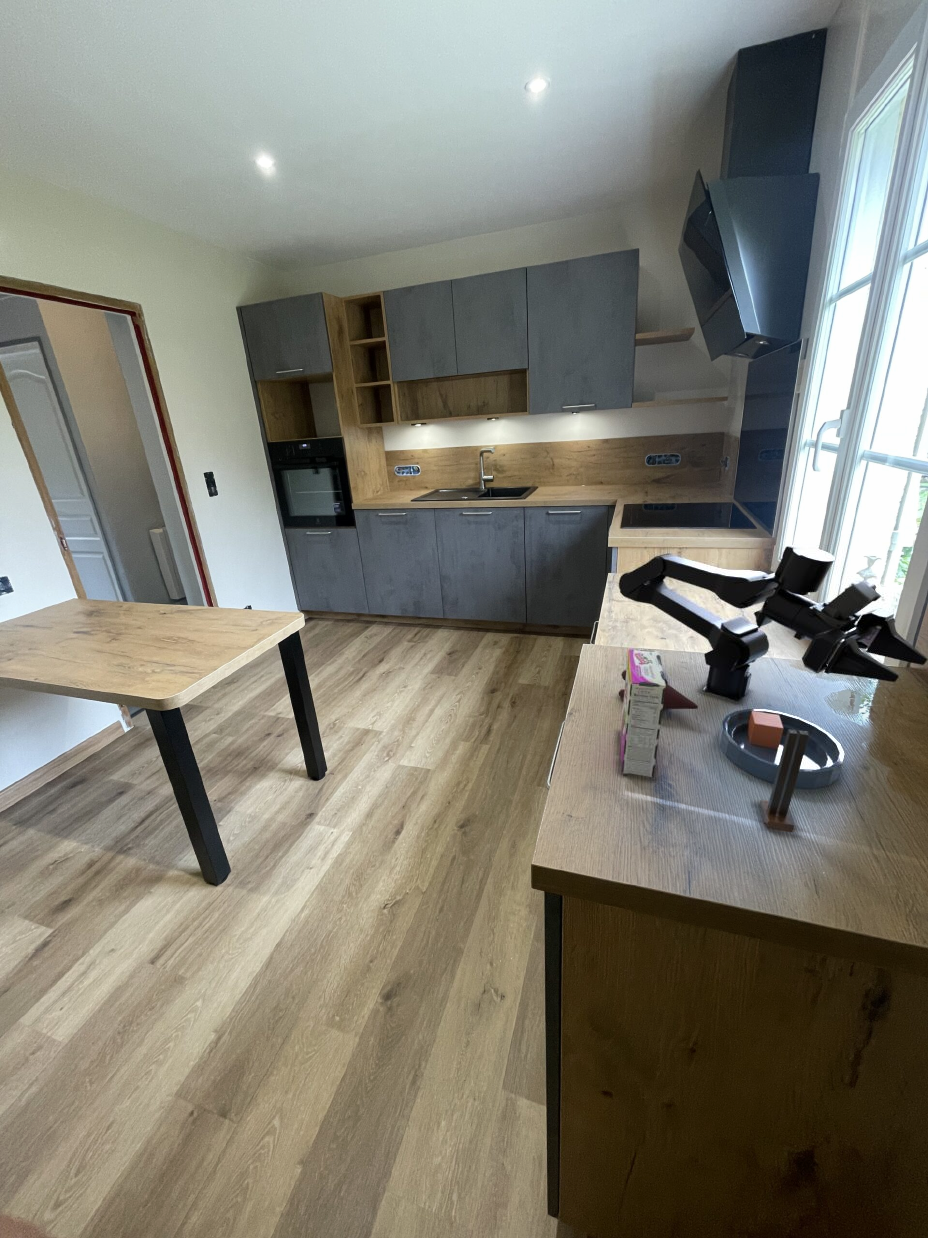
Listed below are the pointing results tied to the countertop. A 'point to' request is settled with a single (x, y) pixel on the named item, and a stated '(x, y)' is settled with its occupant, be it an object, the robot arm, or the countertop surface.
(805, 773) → the bowl
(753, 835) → the countertop surface
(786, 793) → the dark brown forked stand
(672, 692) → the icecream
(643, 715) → the candy bar box
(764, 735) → the block
